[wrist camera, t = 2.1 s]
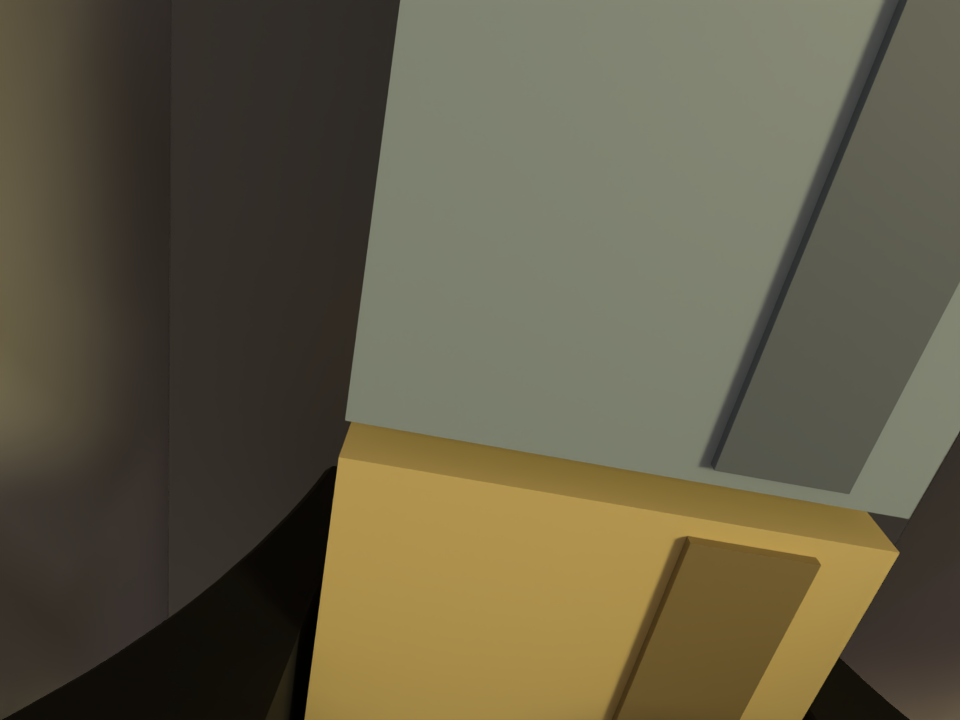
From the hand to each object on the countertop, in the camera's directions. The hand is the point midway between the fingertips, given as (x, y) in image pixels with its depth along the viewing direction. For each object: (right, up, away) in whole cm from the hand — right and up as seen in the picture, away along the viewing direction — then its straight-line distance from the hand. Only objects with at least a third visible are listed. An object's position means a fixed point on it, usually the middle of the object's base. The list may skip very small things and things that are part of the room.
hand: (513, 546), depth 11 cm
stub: (0, +1, 0) cm, 1 cm away
